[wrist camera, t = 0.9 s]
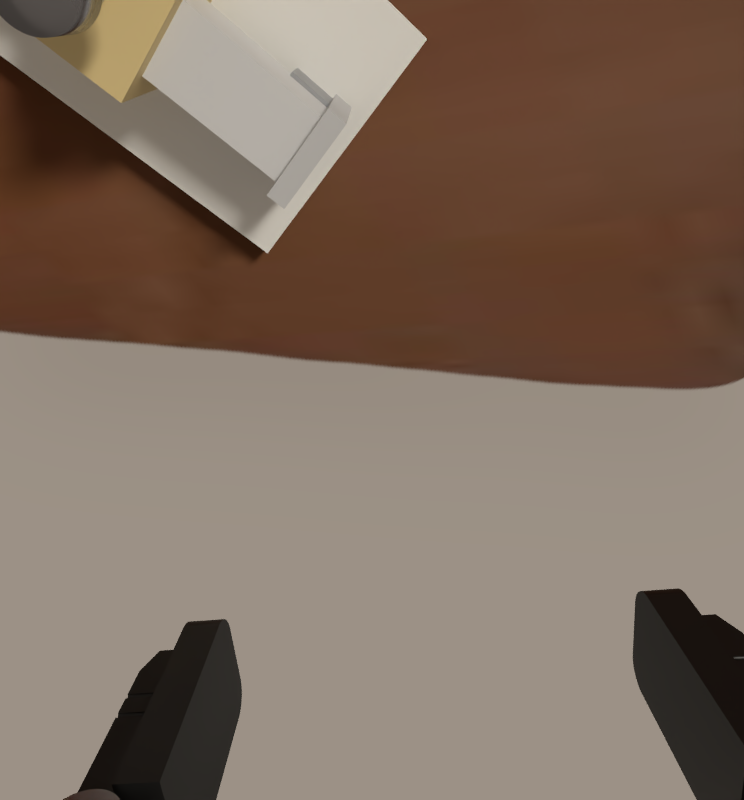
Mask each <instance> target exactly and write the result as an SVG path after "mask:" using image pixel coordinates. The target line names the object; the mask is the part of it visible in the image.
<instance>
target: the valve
mask: <svg viewBox="0 0 744 800" xmlns="http://www.w3.org/2000/svg"><path fill="white" fill-rule="evenodd" d="M426 40H427V39H426V37H425V36H424V35H423V34H422V33H421V32H420V31H418V30H417V29H416V28H415V27H414V26H413V25H412V24H411V23H410V22H409V21H408V20H407V19H406V18H405V17H404V16H403V15H402V14H401V13H400V12H399V11H398V10H397V9H396V8H395V7H394V6H393V5H392V4H391V3H390V2H389V1H388V0H102V6H101V10H100V13H99V15H98V17H97V19H96V21H95V22H94V23H93V25H92V26H91V27H90V28H88V29H87V30H85V31H84V32H81V33H79V34H74V35H66V36H58V37H49V38H39V37H33V36H29V35H27V34H24V33H22V32H20V31H18V30H17V29H15V28H14V27H12V26H11V25H10V24H8V23H7V22H6V21H5V20H4V19H3V18H2V17H1V16H0V56H2V57H3V58H4V59H6V60H7V61H9V62H10V63H11V64H13V65H14V66H15V67H17V68H18V69H19V70H21V71H22V72H23V73H25V74H26V75H27V76H29V77H30V78H31V79H33V80H34V81H36V82H37V83H38V84H40V85H41V86H42V87H44V88H45V89H46V90H48V91H49V92H50V93H52V94H53V95H54V96H56V97H57V98H58V99H60V100H61V101H63V102H64V103H65V104H67V105H68V106H69V107H71V108H72V109H73V110H75V111H76V112H77V113H79V114H80V115H81V116H83V117H84V118H85V119H87V120H88V121H90V122H91V123H92V124H94V125H95V126H96V127H98V128H99V129H100V130H102V131H103V132H104V133H106V134H107V135H108V136H110V137H111V138H112V139H114V140H115V141H117V142H118V143H119V144H121V145H122V146H123V147H125V148H126V149H127V150H129V151H130V152H131V153H133V154H134V155H135V156H137V157H138V158H139V159H141V160H142V161H144V162H145V163H146V164H148V165H149V166H150V167H152V168H153V169H154V170H156V171H157V172H158V173H160V174H161V175H162V176H164V177H165V178H166V179H168V180H169V181H171V182H172V183H173V184H175V185H176V186H177V187H179V188H180V189H181V190H183V191H184V192H185V193H187V194H188V195H189V196H191V197H192V198H193V199H195V200H196V201H198V202H199V203H200V204H202V205H203V206H204V207H206V208H207V209H208V210H210V211H211V212H212V213H214V214H215V215H216V216H218V217H219V218H220V219H222V220H223V221H225V222H226V223H227V224H229V225H230V226H231V227H233V228H234V229H235V230H237V231H238V232H239V233H241V234H242V235H243V236H245V237H246V238H247V239H249V240H250V241H252V242H253V243H254V244H256V245H257V246H258V247H260V248H261V249H262V250H264V251H265V252H266V253H268V252H269V251H270V249H271V248H272V247H273V245H274V244H275V243H276V241H277V240H278V239H279V237H280V236H281V235H282V233H283V232H284V231H285V229H286V228H287V226H288V225H289V224H290V222H291V221H292V220H293V218H294V217H295V216H296V214H297V213H298V212H299V210H300V209H301V208H302V206H303V205H304V204H305V202H306V201H307V200H308V198H309V197H310V196H311V194H312V193H313V192H314V190H315V189H316V188H317V186H318V185H319V184H320V182H321V181H322V180H323V178H324V177H325V176H326V174H327V173H328V172H329V170H330V169H331V167H332V166H333V165H334V163H335V162H336V161H337V159H338V158H339V157H340V155H341V154H342V153H343V151H344V150H345V149H346V147H347V146H348V145H349V143H350V142H351V141H352V139H353V138H354V137H355V135H356V134H357V133H358V131H359V130H360V129H361V127H362V126H363V125H364V123H365V122H366V121H367V119H368V118H369V117H370V115H371V114H372V113H373V111H374V110H375V109H376V107H377V106H378V104H379V103H380V102H381V100H382V99H383V98H384V96H385V95H386V94H387V92H388V91H389V90H390V88H391V87H392V86H393V84H394V83H395V82H396V80H397V79H398V78H399V76H400V75H401V74H402V72H403V71H404V70H405V68H406V67H407V66H408V64H409V63H410V62H411V60H412V59H413V58H414V56H415V55H416V54H417V52H418V51H419V50H420V48H421V47H422V46H423V44H424V43H425V41H426Z"/></svg>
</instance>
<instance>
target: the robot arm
mask: <svg viewBox="0 0 744 800" xmlns="http://www.w3.org/2000/svg"><path fill="white" fill-rule="evenodd" d="M633 645H634V646H633V664H634V670H635V675H636V679H637V682H638V685H639V688H640V690H641V692H642V694H643V696H644V698H645V700H646V702H647V704H648V706H649V708H650V710H651V712H652V714H653V716H654V718H655V720H656V721H657V723H658V725H659V727H660V729H661V731H662V733H663V735H664V737H665V739H666V741H667V743H668V745H669V747H670V749H671V751H672V752H673V754H674V756H675V758H676V760H677V762H678V764H679V766H680V768H681V770H682V772H683V774H684V776H685V778H686V780H687V782H688V784H689V785H690V787H691V789H692V791H693V793H694V795H695V797H696V799H697V800H744V634H743V633H742V632H741V631H739V630H738V629H736V628H735V627H733V626H732V625H730V624H729V623H727V622H726V621H724V620H723V619H721V618H720V617H718V616H717V615H715V614H714V615H701V614H700V612H699V611H698V610H697V608H696V607H695V606H694V604H693V603H692V602H691V600H690V599H689V598H688V597H687V595H686V594H685V593H684V592H683V591H682V590H681V589H667V590H652V591H640V592H638V594H637V596H636V601H635V621H634V644H633ZM241 697H242V689H241V679H240V675H239V669H238V665H237V660H236V655H235V650H234V646H233V641H232V636H231V631H230V627H229V624H228V622H227V621H226V620H225V619H221V620H208V621H193V622H188V623H186V625H185V626H184V628H183V630H182V632H181V635H180V637H179V639H178V641H177V643H176V646H175V648H174V650H165V651H159V652H158V654H156V655H155V657H153V658H152V659H151V660H150V661H149V662H148V663H147V664H146V666H144V667H143V668H142V669H141V670H140V672H139V673H138V676H137V677H136V679H135V681H134V683H133V685H132V687H131V689H130V691H129V693H128V698H127V699H125V701H124V703H123V705H122V707H121V709H120V711H119V713H118V718H115V720H114V722H113V724H112V726H111V729H110V730H109V732H108V734H107V736H106V738H105V740H104V742H103V744H102V746H101V748H100V750H99V752H98V754H97V756H96V758H95V760H94V762H93V764H92V765H91V768H90V769H89V771H88V773H87V775H86V777H85V779H84V781H83V783H82V785H81V787H80V789H79V791H78V792H77V793H76V794H73V795H71V796H69V797H67V798H65V799H63V800H216V798H217V794H218V790H219V787H220V783H221V780H222V776H223V773H224V769H225V765H226V762H227V758H228V755H229V751H230V747H231V743H232V740H233V736H234V733H235V729H236V726H237V722H238V718H239V714H240V709H241Z"/></svg>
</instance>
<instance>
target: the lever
mask: <svg viewBox="0 0 744 800" xmlns="http://www.w3.org/2000/svg"><path fill="white" fill-rule="evenodd" d="M101 6H102V0H0V16H1V17H2V18H3V19H4V20H5V21H6V22H7V23H8V24H10V25H11V26H12V27H14V28H15V29H17V30H18V31H20V32H22V33H24V34H27V35H29V36H33V37H39V38H49V37H58V36H66V35H74V34H79V33H81V32H84V31H85V30H87V29H88V28H90V27H91V26H92V25H93V23H94V22H95V21H96V19H97V17H98V15H99V13H100V10H101Z"/></svg>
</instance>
